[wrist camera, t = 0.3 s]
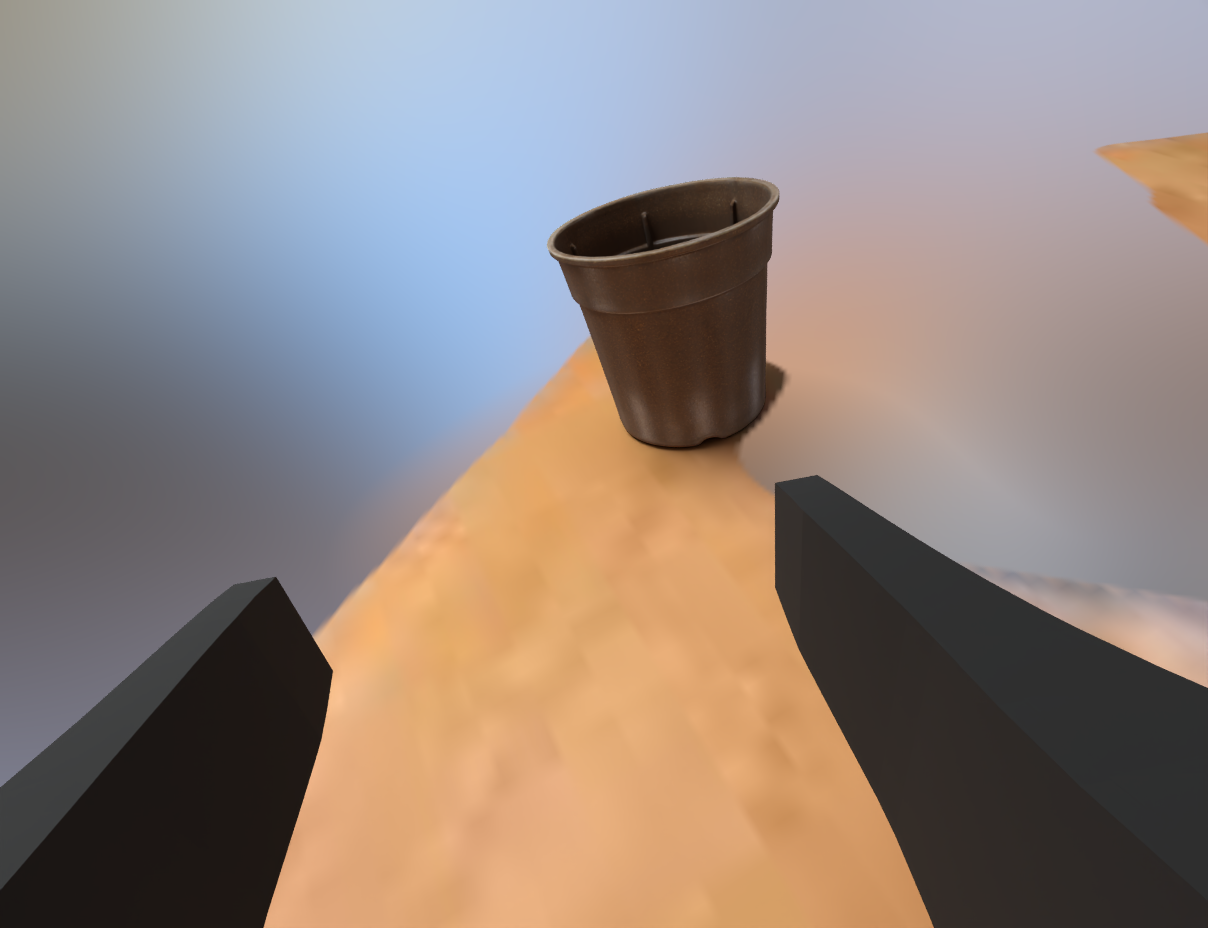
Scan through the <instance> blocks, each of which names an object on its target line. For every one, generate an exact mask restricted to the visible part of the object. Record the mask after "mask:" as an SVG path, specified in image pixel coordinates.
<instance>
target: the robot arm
mask: <svg viewBox="0 0 1208 928" xmlns="http://www.w3.org/2000/svg"><path fill="white" fill-rule="evenodd" d="M775 588H776V591H777V593H778V596H779V599H780V602H781V604H782V607H783V610H784V612H785V615H786V618H787V620H788V623H789V625H790V628H791V631H792V633H793V636H794V638H795V641H796V643H797V646H798V648H799V650H800V652H801V654H802V656H803V658H804V660H805V662H806V664H807V666H808V668H809V670H810V672H811V674H812V676H813V678H814V679H815V681H816V683H817V685H818V687H819V689H820V691H821V693H822V695H823V697H824V699H825V700H826V702H827V704H828V706H829V708H830V710H831V712H832V714H833V716H834V717H835V719H836V721H837V723H838V725H839V727H840V729H841V731H842V732H843V734H844V736H845V738H846V740H847V742H848V744H849V746H850V748H851V749H852V751H853V753H854V755H855V757H856V759H857V761H858V763H859V765H860V766H861V768H862V770H863V772H864V774H865V776H866V778H867V780H868V781H869V783H870V785H871V787H872V789H873V791H874V793H875V795H876V797H877V799H878V801H879V803H880V805H881V807H882V809H883V811H884V813H885V815H886V817H887V819H888V821H889V823H890V825H891V828H892V830H893V832H894V834H895V836H896V838H897V841H898V843H899V845H900V848H901V850H902V852H903V855H904V857H905V860H906V862H907V864H908V867H909V869H910V871H911V874H912V876H913V878H914V881H915V883H916V886H917V888H918V890H919V893H920V895H921V897H922V900H923V902H924V904H925V907H926V909H927V912H928V914H929V916H930V919H931V921H932V924H933V926H934V928H1208V688H1206V687H1204V686H1202V685H1200V684H1197V683H1195V682H1193V681H1190V680H1188V679H1186V678H1184V677H1181V676H1179V675H1177V674H1174V673H1172V672H1170V671H1168V670H1165V669H1163V668H1161V667H1159V666H1156V665H1154V664H1152V663H1150V662H1148V661H1146V660H1144V659H1142V658H1139V657H1137V656H1135V655H1133V654H1131V653H1129V652H1127V651H1125V650H1122V649H1120V648H1118V647H1116V646H1114V645H1112V644H1110V643H1108V642H1106V641H1103V640H1101V639H1099V638H1097V637H1095V636H1093V635H1091V634H1089V633H1086V632H1084V631H1082V630H1080V629H1078V628H1076V627H1074V626H1072V625H1070V624H1068V623H1066V622H1064V621H1062V620H1060V619H1058V618H1056V617H1054V616H1052V615H1051V614H1049V613H1047V612H1045V611H1043V610H1041V609H1039V608H1037V607H1035V606H1034V605H1032V604H1030V603H1028V602H1026V601H1024V600H1023V599H1021V598H1019V597H1017V596H1015V595H1013V594H1011V593H1010V592H1008V591H1006V590H1004V589H1002V588H1000V587H999V586H997V585H995V584H993V583H991V582H989V581H988V580H986V579H984V578H982V577H981V576H979V575H977V574H975V573H974V572H972V571H970V570H968V569H967V568H965V567H963V566H962V565H960V564H958V563H956V562H955V561H953V560H951V559H950V558H948V557H946V556H945V555H943V554H941V553H940V552H938V551H936V550H935V549H933V548H931V547H930V546H928V545H926V544H925V543H923V542H922V541H920V540H918V539H917V538H915V537H914V536H912V535H910V534H909V533H907V532H906V531H904V530H902V529H901V528H899V527H898V526H896V525H894V524H893V523H891V522H890V521H888V520H886V519H885V518H884V517H882V516H880V515H879V514H877V513H876V512H874V511H873V510H871V509H869V508H868V507H866V506H865V505H863V504H862V503H860V502H859V501H857V500H856V499H854V498H853V497H851V496H849V495H848V494H846V493H845V492H843V491H842V490H840V489H839V488H837V487H836V486H834V485H832V484H831V483H829V482H828V481H826V480H824V479H823V478H821V477H819V476H818V475H815V476H810V477H805V478H799V479H794V480H789V481H783V482H778V483H775ZM332 674H333V670H332V669H331V667H330V665H329V664H328V662H327V660H326V659H325V657H324V655H323V654H322V652H321V650H320V649H319V647H318V645H317V644H316V642H315V640H314V639H313V637H312V635H311V634H310V632H309V631H308V629H307V627H306V626H305V624H304V622H303V621H302V619H301V617H300V616H299V614H298V612H297V611H296V609H295V607H294V606H293V604H292V603H291V601H290V599H289V597H288V596H287V594H286V593H285V591H284V589H283V588H282V586H281V584H280V583H279V581H278V579H277V578H276V577H272V578H267V579H262V580H256V581H251V582H246V583H240V584H235V585H233V586H232V587H230V588H229V589H228V590H226V591H225V592H224V593H223V594H221V595H220V596H219V597H217V598H216V599H215V600H214V601H213V602H211V603H210V604H209V605H208V606H207V607H205V608H204V609H203V610H202V611H201V612H200V613H199V614H197V615H196V616H195V617H194V618H193V619H192V620H190V621H189V622H188V623H187V624H186V625H185V626H184V627H183V628H182V629H180V630H179V631H178V632H177V633H176V634H175V635H174V636H172V637H171V638H170V639H169V640H168V641H167V642H166V643H165V644H164V645H162V646H161V647H160V648H159V649H158V650H157V651H156V652H155V653H154V654H152V655H151V656H150V657H149V658H148V659H147V660H146V661H145V662H144V663H142V664H141V665H140V666H139V667H138V668H137V669H136V670H135V671H134V672H133V673H132V674H130V675H129V676H128V677H127V678H126V679H125V680H124V681H122V682H121V683H120V684H119V685H118V686H117V687H116V688H115V689H114V690H112V691H111V692H110V693H109V694H108V695H107V696H106V697H105V698H104V699H103V700H101V701H100V702H99V703H98V704H97V705H96V706H95V707H93V708H92V709H91V710H90V711H89V712H88V713H87V714H86V715H85V716H83V718H81V719H80V720H79V721H78V722H77V723H75V724H74V725H73V726H72V727H71V728H70V729H68V730H67V731H66V732H65V733H64V734H62V735H61V736H60V737H59V738H58V739H57V740H56V741H54V742H53V743H52V744H51V745H50V746H48V747H47V748H46V749H45V750H44V751H43V752H41V753H40V754H39V755H38V756H37V757H36V758H34V759H33V760H32V761H31V762H30V763H28V764H27V765H26V766H25V767H24V768H23V769H21V771H19V772H18V773H17V774H16V775H14V776H13V777H12V778H11V779H10V780H9V781H7V782H6V783H5V784H4V785H3V786H2V787H0V928H263V927H264V924H265V920H266V917H267V913H268V910H269V907H270V904H271V900H272V897H273V894H274V891H275V888H276V884H277V881H278V878H279V875H280V872H281V869H282V865H283V862H284V859H285V856H286V853H287V850H288V846H289V843H290V840H291V837H292V834H293V831H294V827H295V824H296V821H297V818H298V815H299V812H300V808H301V805H302V802H303V799H304V796H305V792H306V789H307V786H308V783H309V779H310V776H311V773H312V769H313V766H314V763H315V760H316V756H317V753H318V749H319V746H320V742H321V739H322V733H323V728H324V723H325V717H326V712H327V707H328V700H329V693H330V687H331V680H332Z"/></svg>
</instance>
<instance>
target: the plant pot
mask: <svg viewBox="0 0 1208 928" xmlns="http://www.w3.org/2000/svg"><path fill="white" fill-rule="evenodd" d="M778 202H779V189H778V188H777V187H776V186H775V185H774V184H772V183H770V182H767V181H764V180H760V179H754V178H739V177H729V178H715V179H706V180H698V181H692V182H686V183H680V184H676V185H670V186H665V187H660V188H656V189H651V190H647V191H643V192H640V193H636V194H633V195H630V196H626V197H623V198H620V199H618V200H615V201H612V202H609V203H606V204H604V205H601V206H599V207H596V208H594V209H591V210H589V211H587V212H585V213H583V214H581V215H579V216H577V217H575V218H573V219H571V220H570V221H568V222H566V223H565V224H563V225H562V226H560V227H559V228H558V229H557V230H556V231H555V232H553V233H552V235H551V236H550V238H549V239H548V242H547V248H548V250H549V252H550V255H551V256H552V257H553V258H554V259H556V260H557V261H559V264H560V266H561V269H562V271H563V274H564V276H565V279H566V282H567V284H568V287H569V289H570V292H571V295H572V297H573V299H574V300H575V301H576V302H577V303H578V304H580V307H581V310H582V312H583V315H584V317H585V320H586V323H587V326H588V329H589V331H590V334H591V337H592V340H593V342H594V345H595V348H596V351H597V353H598V356H599V359H600V362H601V365H602V367H603V370H604V373H605V376H606V379H607V381H608V384H609V387H610V390H611V393H612V396H613V398H614V401H615V404H616V407H617V410H618V413H619V416H620V419H621V421H622V423H623V425H624V427H625V429H626V430H627V432H628V433H630V434H631V435H632V436H633V437H635V438H637V439H639V440H641V441H644V442H647V443H650V444H654V445H659V446H668V447H686V446H696V445H699V444H700V443H701V442H702V441H704V440H705V439H707V438H711V437H720V438H726V437H728V436H730V435H732V434H734V433H736V432H738V431H739V430H741V429H743V428H744V427H746V426H747V425H748V424H749V423H751V422H752V421H753V420H754V419H755V418H756V417H757V415H758V414H759V413H760V411H761V410H762V408H763V406H764V403H765V398H766V387H765V367H766V302H767V301H766V300H767V263H768V261H769V260H770V258H771V254H772V221H773V210H774V209H775V207H776V206H777V204H778Z"/></svg>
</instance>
